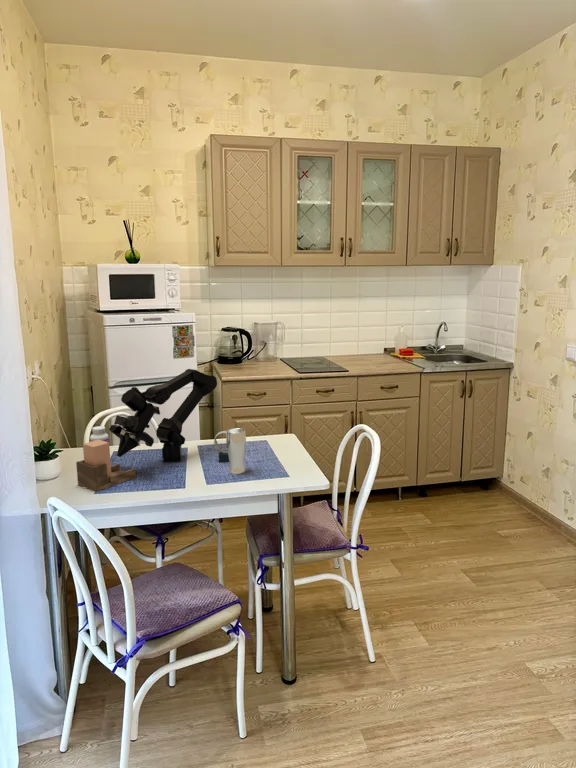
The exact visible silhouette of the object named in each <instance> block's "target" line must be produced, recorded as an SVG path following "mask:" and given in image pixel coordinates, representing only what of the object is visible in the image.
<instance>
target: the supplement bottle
mask: <svg viewBox="0 0 576 768" xmlns="http://www.w3.org/2000/svg"><path fill="white" fill-rule="evenodd" d="M91 431H92V434H91V435H90V437H89V442H92V441H95V440H101V441H105V442H108V443H109V444H110V438H109V434H108V433H106V426H100V425H99V426H93V427H92V429H91Z"/></svg>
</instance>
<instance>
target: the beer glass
mask: <svg viewBox="0 0 576 768" xmlns="http://www.w3.org/2000/svg"><path fill="white" fill-rule="evenodd" d="M226 431H227V434H225V436H226V439H225V445H226V450H227V452H228V456H229V462H228V474H231V475H241V473H242V474H245V473H246V471H247V470H246V465H245V457H246V450H247V436H246V435H247V434H246V429H244V428H241V427H240V428H239V427H236V428H235V427H234V428H229V429H227V430H226Z"/></svg>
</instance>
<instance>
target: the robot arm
mask: <svg viewBox="0 0 576 768" xmlns="http://www.w3.org/2000/svg"><path fill="white" fill-rule="evenodd" d="M190 383H192V390H191V391H190V393H188V394H187V396H186V398H185V399H184V400H183V402H182V403H181V404H180V406H179V407H178V408H177V409H176V411H175V412H174V413H173V415H172V416H171V417H170V418H167V417H163V418H162V419H161V421H160V423H159V424H158V425H157V427H156V431H155V433H156V437H157V439H158V440H159V443H161V444H163V445H162V448H161V453H162V454H161V455H162V459H163V460H162V462H164V463H165V462H166V463H168V462H169V463H171V462H181V461H182V459H183V452H182V451H183V450H182V446H183V445H185V442H186V438H185V437H184V435H182V432H183V425H184V423H185V422H186V420H187V419H188V418H189V417H190V415H191V414H192V412H193V411H194V410H195V408H196V407H197V405H198V404H199V403H200V402H201V401H202V399H203V398H204V397H205V396H207V395H209V394H211V393H212V392H213V391H215V389H216V388H217V385H218V380H217V377H216V376H215V375H213V374H207V373H204V372H201V371H199V370H197V369H194V368H193V369H192V368H187V369H186V370H184V371H183V372H181V373H180V374H178V375H176V376H175V377H173V378H171V379H169V380H168V381H166V382H164V383H161V384H156V385H153V386H150V387H148V388H147V389H146V390H145V391H143V392H141V391H140V390H139V388H138V387H135V386H132V387H131V388H130V389H128V390H126V391H125V392H124V393H123V394H122V396H121V398H120V400H121V403H123V404H124V405H125V406H127V408H129V409H130V410H131V411H132V412H135V413H134V415H132V414H131V415H128V416H126V417H125V416H121V415H116V416H115V419H114V421H113V422H114V423H113V424H112V425H111V426H110V427H109V429H108V431H109V432H110V433H112V434H113V435H114V436H116V437H117V438H119V444H118V448H117V453H116V456H117V457H119V458H121V457H122V456H124V455H125V454H127V453H128V452H130V451H132V450H134V449H135V448H137V447H140V446H141V444H140V443H141V441H143V442H144V443H145V446H147V447H152V446H153V445H154V443H155V440H154V437H152V436H151V435H149V433H148V432H146V431H145V430H146V429H149V428H150V424H149V423H150V422H151V420H152V418H153V417H154V415H161V412H160V411H161V410H160V407H159V406H160V405H161V406H162V405H164V404H165V403H166V402H167V401H169V399H170V398H171V396H172V395H173V394H174V393H175V392H178V391H179V390H180V389H182V388H184V387H185V386H188V384H189V385H190ZM154 404H155V405H154ZM156 405H159V406H156Z"/></svg>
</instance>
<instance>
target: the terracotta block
mask: <svg viewBox="0 0 576 768" xmlns="http://www.w3.org/2000/svg"><path fill="white" fill-rule="evenodd" d="M110 449H111V447H110V442H109V443H108V442H105V441H101V440H95V441H92V442H90V441H88V442H84V443H82V450H83V453H82V454H83V460H84V463H86V464H89V465H92V466H97V465H100V464H104V463H106V464H107V475H108V481H109V476H112V475H111V466H112V463H111V450H110Z"/></svg>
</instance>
